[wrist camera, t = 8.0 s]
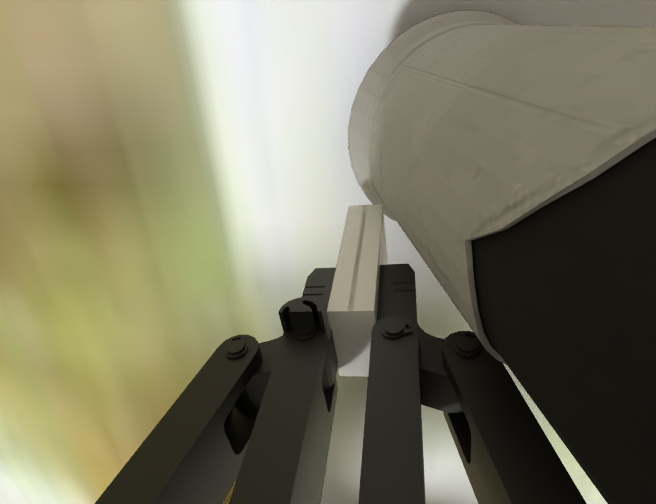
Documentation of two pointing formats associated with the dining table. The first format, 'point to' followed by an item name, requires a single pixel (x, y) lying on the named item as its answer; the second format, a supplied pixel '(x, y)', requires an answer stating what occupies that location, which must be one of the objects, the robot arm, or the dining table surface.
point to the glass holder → (533, 211)
